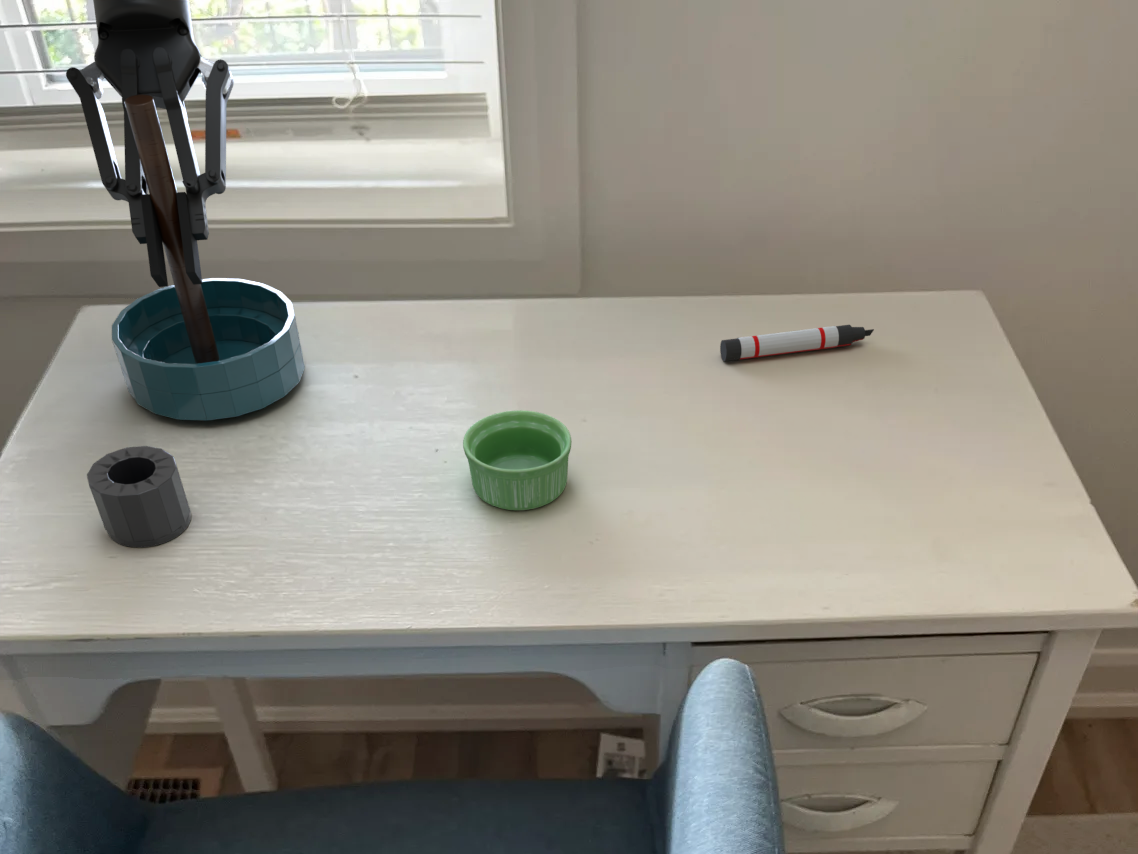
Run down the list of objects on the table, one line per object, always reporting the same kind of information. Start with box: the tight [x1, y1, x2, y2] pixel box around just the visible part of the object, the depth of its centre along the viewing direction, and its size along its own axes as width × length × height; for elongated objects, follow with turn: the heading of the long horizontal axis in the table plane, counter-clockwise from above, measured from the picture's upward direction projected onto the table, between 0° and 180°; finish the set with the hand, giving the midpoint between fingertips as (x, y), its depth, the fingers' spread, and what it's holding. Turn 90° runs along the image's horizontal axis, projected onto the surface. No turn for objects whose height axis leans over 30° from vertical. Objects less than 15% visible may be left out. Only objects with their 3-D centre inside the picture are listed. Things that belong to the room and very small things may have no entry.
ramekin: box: [462, 409, 572, 511], centre depth 100 cm, size 9×9×4 cm
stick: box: [125, 95, 219, 364], centre depth 101 cm, size 2×2×22 cm
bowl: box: [111, 277, 306, 421], centre depth 111 cm, size 16×16×6 cm
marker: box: [719, 324, 875, 362], centre depth 115 cm, size 15×2×2 cm, turn 103°
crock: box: [86, 445, 192, 548], centre depth 96 cm, size 7×7×5 cm
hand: (177, 279), depth 100 cm, fingers closed on stick, 2 cm apart
